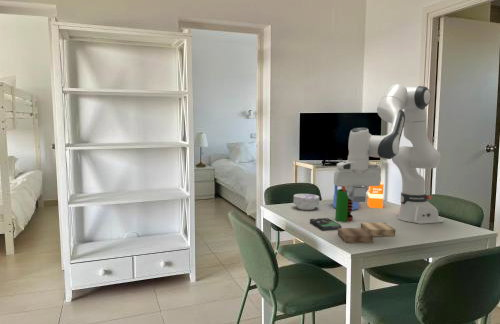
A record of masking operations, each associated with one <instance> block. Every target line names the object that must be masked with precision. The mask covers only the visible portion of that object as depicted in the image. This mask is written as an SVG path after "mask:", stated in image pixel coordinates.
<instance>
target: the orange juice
mask: <svg viewBox="0 0 500 324" xmlns="http://www.w3.org/2000/svg"><path fill="white" fill-rule="evenodd" d="M383 202H384V183H383V182H382V181H381V184H380V185H379V186H369V189H368V191H367V203H366V204H367V207H369V208H370V209H372V208H373V209H383V206H384V203H383Z"/></svg>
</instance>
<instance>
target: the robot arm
mask: <svg viewBox="0 0 500 324" xmlns="http://www.w3.org/2000/svg"><path fill="white" fill-rule="evenodd" d="M431 95H432V94H431V91H430V89H429V88H428V86H424V85H423V86H422V85H419V86H414V85H413V86H412V85H411V86H405V85H403V84H400V83H395V84H391V86H390V87H389V88H387V90H386V91H385V92H384V94H383V95H382V97H381V98H380V99H379V101H378V104H377V108H376V112H377V115H378V116H379V117H380V119H381V120H383V121H384V122H386V123H390V124H391V125H390V129H389V132H388V133H387V134H385V135H376V134H375V135H374V134H373V135H372V133H370V131H369V128H368V127H354V128H352V129H351V130H350V132H349V136H348V147H347V148H348V155H347V160H344V161H340V162H338V163H336V168H337V169H335V171H334V173H335V175H334V174H333V175H334V176H333V185H334V184H335V185H336V186H340V187H341V186H345V189H346V190H347V196H352V192H350V191H349V189H348V188H350V186H362V187H364V188H366V193H368V189H369V186H379V185H380V184H381V182H382V179H381V178H382V177H381V174H382V168H381V166H379V165H378V164H369V162H370V161H369V160H370V158H369V157H371V158H372V157H373V158H380V159H385V160H391V161H392V163H393V164H394V165H396V167H397V168H398V170H399V173H400V175H401V181H402V182H401V183H402V184H401V191H400V206H399V211H398V214H397V216H396V217H397V219H398V220H400V221H403V222H408V223H415V224H419V225H422V224H423V225H424V224H437V223H443V222H444V220H443V218H441V217H439V211H438V209H437V208H436V207H435V206H434V205H433V204H431V203H430V202H429V201H428V200H431V199H432V196H431V195H429V194H428V195H427V194H425V192H426V191H425V188H426V180H425V177H423V176H422V175H421V174H419V172H418V170H417V169H422V170H423V169H424V170H430V169H436V168H437V167H438V166H439V165H440V163H441V162H442V161H441V159H442V157H441V153H440V152H439V150H438V149H436V148H435V147H434V146H433V145H432V143H431V141H430V138H429V136H428V130H427V129H428V128H427V124H428V123H427V122H428V121H427V120H428V119H427V110H426V109H427V108H426V107H427V106H429V104H430V101H431V99H432V96H431ZM402 134H403V136H404V138H405V139H407V141H409V142H410V143H411V144H412V146H400V142H401V137H402ZM335 185H334V186H335Z"/></svg>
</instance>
